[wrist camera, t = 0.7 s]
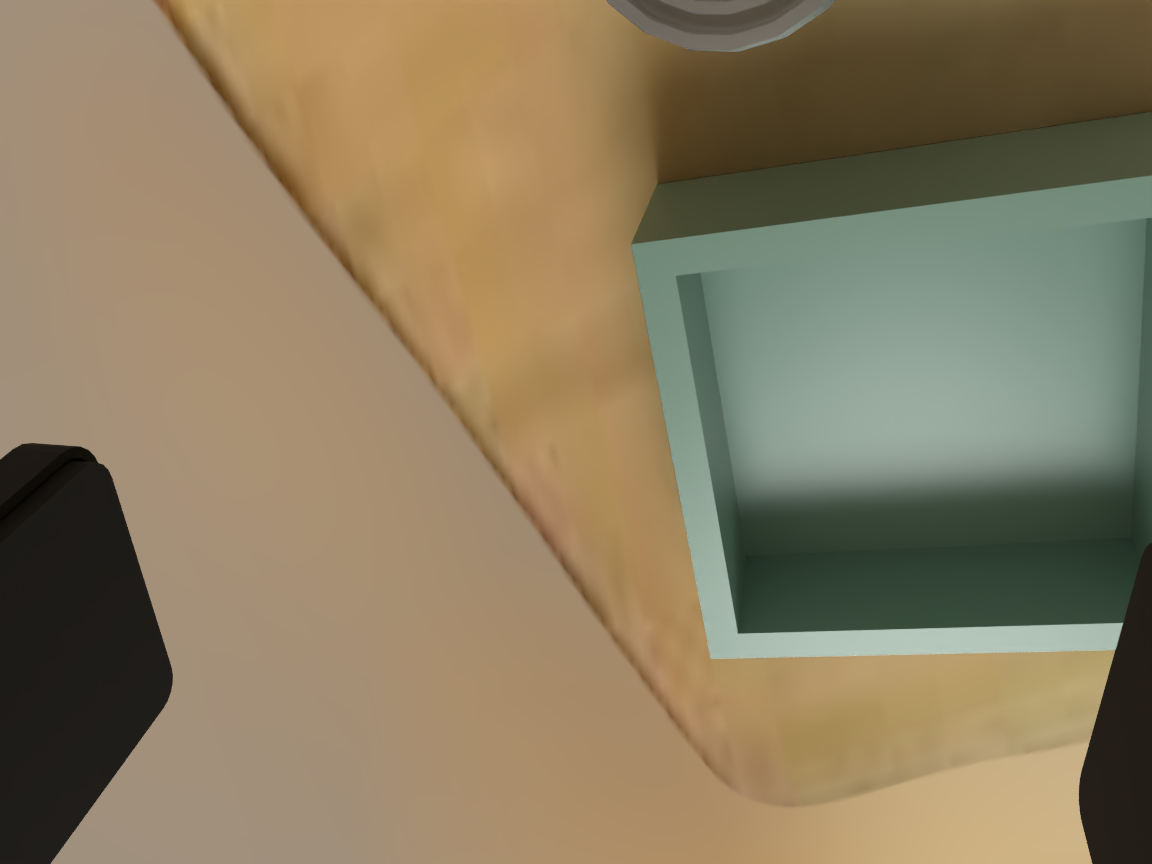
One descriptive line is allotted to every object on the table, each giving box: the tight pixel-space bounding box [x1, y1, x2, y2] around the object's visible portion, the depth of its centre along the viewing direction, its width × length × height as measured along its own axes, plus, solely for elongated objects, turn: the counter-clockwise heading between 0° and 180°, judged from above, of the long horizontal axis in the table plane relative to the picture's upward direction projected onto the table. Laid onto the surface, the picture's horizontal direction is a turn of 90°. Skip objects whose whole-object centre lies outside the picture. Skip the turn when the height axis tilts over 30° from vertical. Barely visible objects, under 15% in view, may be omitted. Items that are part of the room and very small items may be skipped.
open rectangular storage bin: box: [631, 112, 1152, 659], centre depth 31 cm, size 14×14×5 cm
